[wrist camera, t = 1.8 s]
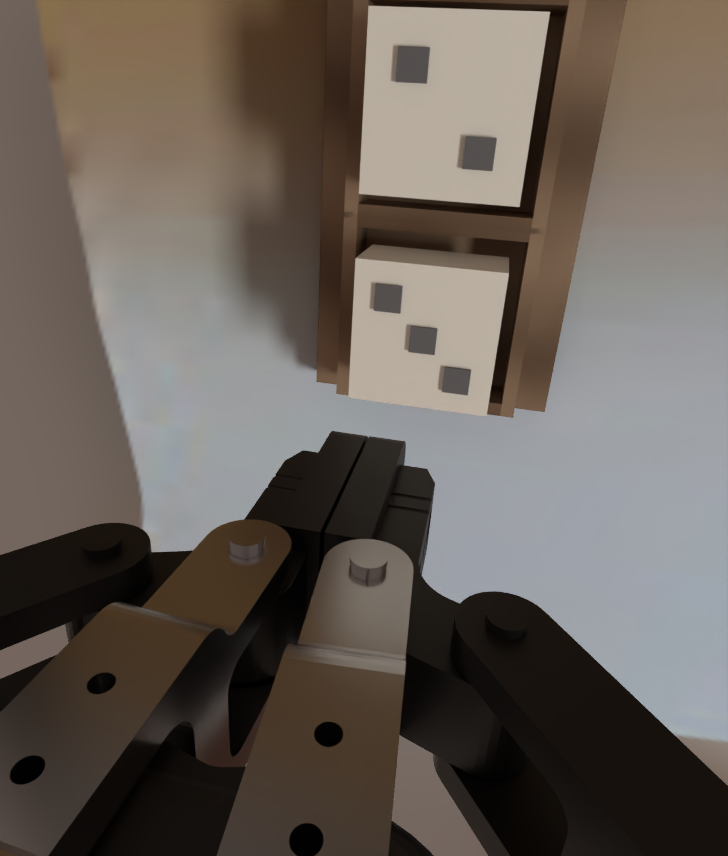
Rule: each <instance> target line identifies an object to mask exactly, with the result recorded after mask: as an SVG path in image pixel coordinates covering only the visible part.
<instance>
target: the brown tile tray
mask: <svg viewBox="0 0 728 856" xmlns="http://www.w3.org/2000/svg"><path fill="white" fill-rule="evenodd" d="M626 2H627V0H327V29H326V64H325V100H324V136H323V172H322V208H321V244H320V279H319V315H318V351H317V382H323V383H330V384H337V392H336V394H342V395H348V393H349V373H350V354H351V335H352V316H353V296H354V277H355V258H356V257H358V256H359V255H360V254H361V253H363V252H364V251H365V250H366V249H368V248H369V247H370V246H371V245H373V244H374V245H385V246H395V247H406V248H416V249H427V250H437V251H448V252H458V253H469V254H479V255H490V256H500V257H509V277H508V283H507V290H506V296H505V302H504V309H503V315H502V321H501V328H500V334H499V341H498V347H497V353H496V360H495V366H494V372H493V379H492V385H491V391H490V398H489V404H488V411H487V414H490V415H498V416H505V417H512V418H513V413H514V408H519V409H526V410H534V411H541V412H545V407H546V402H547V397H548V392H549V387H550V382H551V377H552V372H553V367H554V362H555V357H556V352H557V347H558V342H559V337H560V332H561V327H562V322H563V317H564V312H565V307H566V302H567V297H568V292H569V287H570V282H571V277H572V272H573V267H574V262H575V257H576V252H577V247H578V242H579V237H580V232H581V227H582V222H583V217H584V212H585V207H586V202H587V197H588V192H589V187H590V182H591V177H592V172H593V167H594V162H595V157H596V152H597V147H598V142H599V137H600V132H601V127H602V122H603V117H604V112H605V107H606V102H607V97H608V92H609V87H610V82H611V77H612V72H613V67H614V62H615V57H616V52H617V47H618V42H619V37H620V32H621V27H622V22H623V17H624V12H625V7H626ZM369 6H391V7H421V8H451V9H481V10H511V11H541V12H550V16H549V22H548V29H547V35H546V41H545V48H544V54H543V60H542V67H541V73H540V79H539V86H538V92H537V99H536V105H535V111H534V118H533V124H532V130H531V137H530V143H529V150H528V156H527V162H526V169H525V175H524V181H523V188H522V194H521V200H520V207H512V206H500V205H488V204H476V203H464V202H452V201H439V200H427V199H415V198H403V197H391V196H379V195H367V194H359V180H360V161H361V142H362V122H363V103H364V84H365V65H366V45H367V26H368V7H369Z"/></svg>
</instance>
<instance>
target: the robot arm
mask: <svg viewBox="0 0 728 856" xmlns="http://www.w3.org/2000/svg"><path fill="white" fill-rule="evenodd" d="M405 449H406V443H405V441H398V440H391V439H384V438H377V437H369V438H368V437H367V436H363V435H356V434H349V433H342V432H335V431H332V432H331V433H330V434H329V436H328V438H327V439H326V441H325V443H324V444H323V446H322V448H321V449H320V451H319V453H316V452H310V451H301V452H300V453H298V454H296V455H294V456H293V457H291V458H289V459H287V460H285V462H284V463H283V465H282V466H281V467H280V469H279V470H278V472H277V473H276V477H274V478H273V479H272V480H271V482H270V483H269V485H268V488H266V489H265V491H264V492H263V493H262V495H261V496H260V498H259V499H258V501H257V502H256V504H255V505H254V506H253V508H252V509H251V511H250V512H249V514H248V515H247V516H246V518H245V519H244V520H238V521H233V522H229V523H226V524H223V525H221V526H219V527H217V528H216V529H214V530H213V531H211V532H210V533H209V534H208V535H207V536H206V537H205V538H204V539H203V540H202V542H201V543H200V544H199V545H198V546H197V547H196V548H195V549H194V550H193V551H178V552H151V543H150V538H149V536H148V535H147V533H146V532H145V531H144V530H142V529H140V528H139V527H136V526H133V525H129V524H124V523H105V524H98V525H94V526H90V527H86V528H83V529H80V530H77V531H74V532H71V533H68V534H64V535H61V536H58V537H55V538H52V539H49V540H46V541H43V542H40V543H37V544H34V545H30V546H27V547H24V548H21V549H18V550H15V551H12V552H9V553H6V554H2V555H0V650H2V649H4V648H7V647H9V646H12V645H14V644H16V643H19V642H22V641H24V640H27V639H29V638H32V637H34V636H37V635H39V634H41V633H44V632H46V631H49V630H51V629H54V628H56V627H59V626H61V625H64V624H65V626H66V632H67V637H68V642H69V643H68V644H67V645H66V646H65V647H64V648H63V649H62V650H61V651H60V652H59V653H58V654H57V655H55V656H53V657H50V658H48V659H46V660H44V661H41V662H39V663H37V664H34V665H32V666H29V667H27V668H25V669H22V670H20V671H18V672H15V673H13V674H11V675H9V676H6V677H4V678H1V679H0V856H433V855H432V854H431V852H430V851H429V850H428V849H426V848H425V847H424V846H423V845H422V844H421V843H420V842H419V841H418V840H417V839H416V838H414V837H413V836H412V835H411V834H410V833H408V832H407V831H405V830H404V829H403V828H401V827H400V826H398V825H397V824H396V823H394V822H393V821H392V810H393V799H394V788H395V777H396V767H397V755H398V745H399V735H401V736H402V737H404V738H406V739H408V740H409V741H411V742H413V743H415V744H417V745H418V746H420V747H422V748H424V749H425V750H427V751H429V752H431V753H433V760H434V766H435V769H436V772H437V774H438V776H439V778H440V779H441V781H442V783H443V784H444V786H445V788H446V789H447V791H448V792H449V794H450V796H451V797H452V799H453V800H454V802H455V803H456V805H457V807H458V808H459V810H460V811H461V812H462V814H463V816H464V818H465V819H466V821H467V822H468V824H469V826H470V827H471V829H472V830H473V832H474V834H475V835H476V837H477V838H478V840H479V841H480V843H481V845H482V846H483V848H484V849H485V851H486V852H487V854H488V856H728V786H727V785H726V784H725V783H724V782H723V781H722V780H721V779H720V778H719V777H718V776H717V775H716V774H714V773H713V772H712V771H711V770H710V769H709V768H708V767H707V766H706V765H705V764H704V763H703V762H702V761H701V760H700V759H699V758H697V756H696V755H694V753H692V752H691V751H690V750H689V749H688V748H687V747H686V746H685V745H684V744H683V743H682V742H681V741H680V740H679V739H678V738H677V737H676V736H675V735H674V734H673V733H672V732H670V731H669V730H668V729H667V728H666V727H665V726H664V725H663V724H662V723H661V722H660V721H659V720H658V719H657V718H656V717H655V716H654V715H653V714H652V713H651V712H649V711H648V710H647V709H646V708H645V707H644V706H643V705H642V704H641V703H640V702H639V701H638V700H637V699H636V698H635V697H634V696H633V695H632V694H631V693H630V692H629V691H627V690H626V689H625V688H624V687H623V686H622V685H621V684H620V683H619V682H618V681H617V680H616V679H615V678H614V677H613V676H612V675H611V674H610V673H609V672H608V671H606V670H605V669H604V668H603V667H602V666H601V665H600V664H599V663H598V662H597V661H596V660H595V659H594V658H593V657H592V656H591V655H590V654H589V653H588V652H587V651H585V650H584V649H583V648H582V647H581V646H580V645H579V644H578V643H577V642H576V641H575V640H574V639H573V638H572V637H571V636H570V635H569V634H568V633H567V632H566V631H564V630H563V629H562V628H561V627H560V626H559V625H558V624H557V623H556V622H555V621H554V620H553V619H552V618H551V617H550V616H549V615H548V614H547V613H546V612H544V611H543V610H542V609H541V608H540V607H538V606H537V605H535V604H534V603H532V602H530V601H528V600H526V599H524V598H522V597H519V596H517V595H513V594H509V593H504V592H482V593H478V594H474V595H472V596H469V597H468V598H466V599H465V600H463V601H462V602H461V603H460V604H459V603H457V602H455V601H452V600H450V599H448V598H446V597H444V596H442V595H441V594H439V593H437V592H436V591H435V590H433V589H432V588H431V587H430V586H429V585H428V584H427V583H426V582H425V580H424V579H423V577H422V576H421V575H422V570H423V565H424V560H425V555H426V550H427V544H428V535H429V527H430V519H431V511H432V503H433V495H434V487H435V483H434V481H433V479H432V477H431V475H430V474H429V472H428V470H427V469H423V468H417V467H410V466H404V461H405ZM246 764H247V765H246ZM245 766H246V767H245Z"/></svg>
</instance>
